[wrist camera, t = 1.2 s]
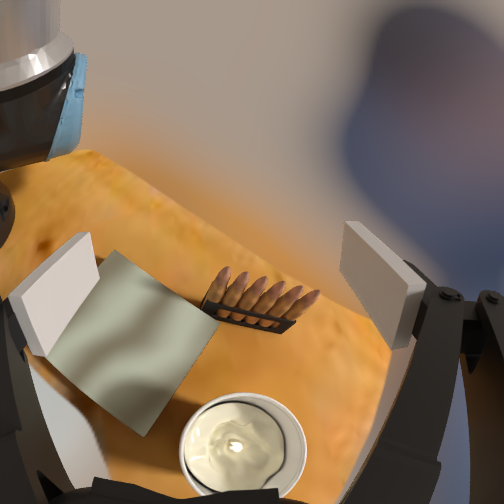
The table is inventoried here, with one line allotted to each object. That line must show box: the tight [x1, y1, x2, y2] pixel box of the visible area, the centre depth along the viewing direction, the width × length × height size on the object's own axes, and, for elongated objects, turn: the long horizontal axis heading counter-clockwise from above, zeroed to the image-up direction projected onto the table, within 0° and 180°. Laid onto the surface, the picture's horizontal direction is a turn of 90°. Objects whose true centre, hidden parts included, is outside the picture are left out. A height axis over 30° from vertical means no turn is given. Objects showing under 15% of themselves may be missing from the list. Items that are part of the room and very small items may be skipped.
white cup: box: [179, 392, 307, 498], centre depth 24 cm, size 10×10×12 cm
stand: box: [45, 250, 220, 437], centre depth 30 cm, size 15×15×3 cm
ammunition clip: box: [200, 267, 320, 334], centre depth 33 cm, size 11×2×12 cm, turn 82°
